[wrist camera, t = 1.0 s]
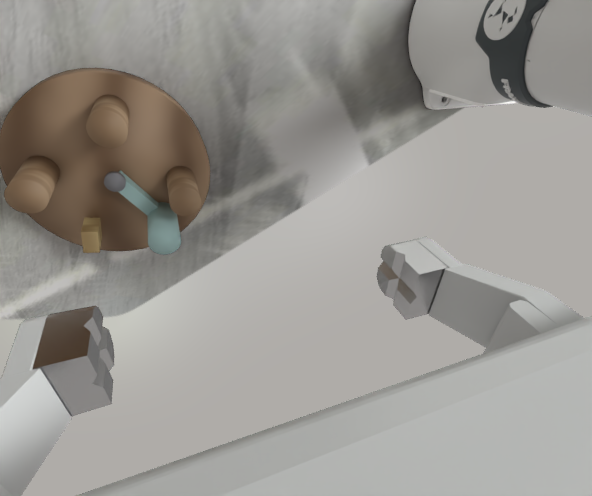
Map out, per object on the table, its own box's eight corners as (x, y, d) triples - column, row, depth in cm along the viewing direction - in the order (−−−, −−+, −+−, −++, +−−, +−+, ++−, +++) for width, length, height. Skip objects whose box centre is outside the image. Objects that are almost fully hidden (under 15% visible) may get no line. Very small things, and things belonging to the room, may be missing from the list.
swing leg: (96, 178, 34) (90, 204, 29) (119, 158, 33) (116, 182, 29) (162, 231, 39) (164, 259, 35) (182, 214, 39) (187, 241, 35)
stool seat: (213, 86, 35) (228, 106, 29) (201, 238, 44) (210, 278, 38) (-17, 48, 28) (-61, 64, 22) (27, 239, 37) (4, 288, 31)
